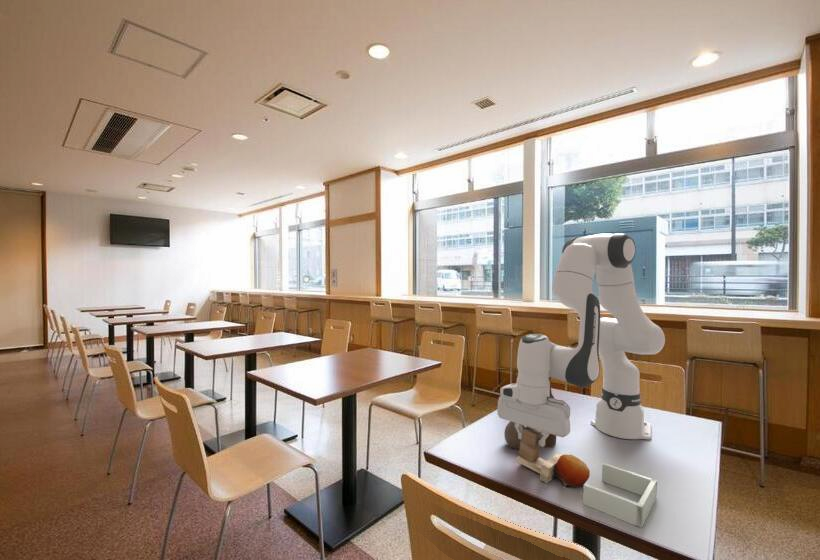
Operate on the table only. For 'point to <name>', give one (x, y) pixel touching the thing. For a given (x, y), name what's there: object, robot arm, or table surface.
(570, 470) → the fruit
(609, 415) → the robot arm
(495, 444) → the table surface
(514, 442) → the vase
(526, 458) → the angled wooden block structure
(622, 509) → the tray
